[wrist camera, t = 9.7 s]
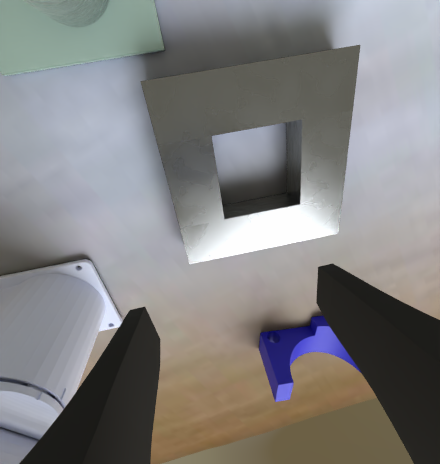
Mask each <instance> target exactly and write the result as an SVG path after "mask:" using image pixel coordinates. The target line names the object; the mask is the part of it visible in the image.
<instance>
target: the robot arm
mask: <svg viewBox="0 0 440 464" xmlns="http://www.w3.org/2000/svg"><path fill="white" fill-rule="evenodd" d="M78 266H81V267H82V268H79V267H78ZM317 304H318V306H319V308H320V310H321V312H322V314H323V316H324V318H325V320H326V321H327V323H328V325H329V326H330V328H331V329H332V331H333V332H334V334H335V335H336V337H337V338H338V340H339V341H340V343H341V344H342V346H343V347H344V348H345V350H346V351H347V353H348V354H349V356H350V357H351V359H352V360H353V361H354V363H355V364H356V366H357V367H358V369H359V370H360V372H361V373H362V374H363V376H364V377H365V379H366V380H367V382H368V383H369V385H370V387H371V388H372V390H373V391H374V393H375V395H376V396H377V398H378V400H379V401H380V403H381V405H382V407H383V408H384V410H385V412H386V414H387V415H388V417H389V419H390V421H391V422H392V424H393V426H394V428H395V430H396V431H397V433H398V435H399V437H400V439H401V440H402V442H403V444H404V446H405V448H406V450H407V451H408V453H409V455H410V457H411V459H412V461H413V463H414V464H440V320H438V319H436V318H434V317H432V316H430V315H427V314H425V313H423V312H421V311H419V310H417V309H415V308H413V307H411V306H409V305H407V304H405V303H403V302H401V301H399V300H397V299H395V298H393V297H392V296H390V295H388V294H386V293H384V292H382V291H380V290H379V289H377V288H375V287H373V286H371V285H370V284H368V283H366V282H364V281H363V280H361V279H359V278H357V277H355V276H354V275H352V274H350V273H348V272H347V271H345V270H343V269H341V268H340V267H338V266H336V265H334V264H329V265H325V266H320V267H318V283H317ZM111 323H112V324H111ZM116 327H119V328H118V330H117V331H116V333H115V335H114V336H113V338H112V340H111V341H110V343H109V344H108V346H107V347H106V349H105V350H104V352H103V354H102V355H101V357H100V358H99V360H98V361H97V363H96V364H95V366H94V367H93V369H92V370H91V372H90V373H89V375H88V376H87V377H86V379H85V380H84V382H83V383H82V385H81V386H80V387H79V389H78V390H77V388H78V386H79V383H80V380H81V378H82V375H83V372H84V369H85V367H86V364H87V361H88V359H89V356H90V353H91V351H92V348H93V345H94V342H95V340H96V337H97V334H98V332H99V331H103V330H107V329H112V328H116ZM159 371H160V338H159V336H158V334H157V331H156V329H155V327H154V325H153V323H152V321H151V319H150V316H149V314H148V312H147V310H146V308H145V307H142V308H137V309H133V310H130V311H129V312H128V314H127V315H126V317H125V319H124V320H123V321H122V319H121V317H120V315H119V313H118V311H117V309H116V307H115V305H114V303H113V301H112V300H111V298H110V296H109V294H108V292H107V290H106V288H105V286H104V284H103V282H102V280H101V279H100V277H99V275H98V273H97V271H96V269H95V267H94V265H93V263H92V262H91V261H90V260H87V259H83V260H78V261H73V262H69V263H64V264H59V265H54V266H49V267H44V268H39V269H34V270H29V271H24V272H19V273H14V274H9V275H4V276H0V464H150V458H151V441H152V430H153V422H154V414H155V405H156V397H157V389H158V380H159ZM76 391H77V392H76Z"/></svg>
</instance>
